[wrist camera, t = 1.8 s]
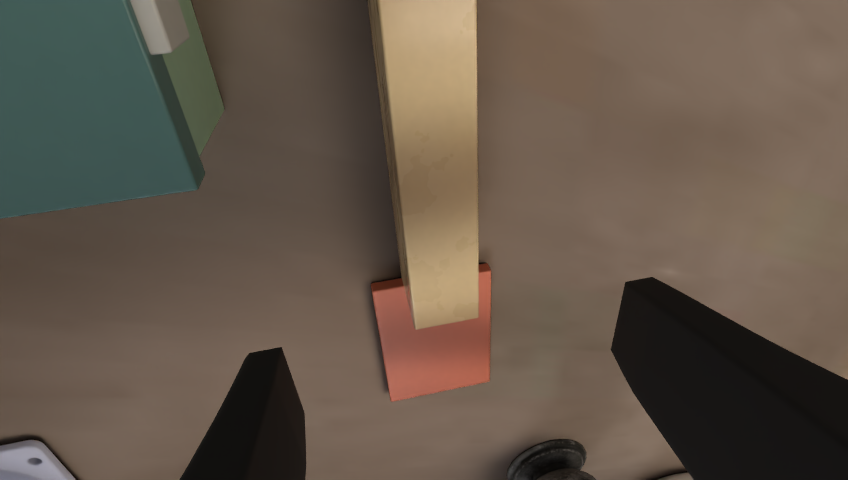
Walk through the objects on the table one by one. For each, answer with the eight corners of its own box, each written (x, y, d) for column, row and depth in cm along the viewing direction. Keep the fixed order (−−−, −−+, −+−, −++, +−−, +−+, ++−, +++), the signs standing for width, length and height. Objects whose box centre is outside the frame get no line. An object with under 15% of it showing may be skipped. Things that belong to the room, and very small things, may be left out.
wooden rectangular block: (486, 372, 24) (507, 427, 21) (389, 392, 23) (398, 451, 20) (489, -39, 14) (530, -33, 11) (317, -23, 13) (318, -13, 10)
